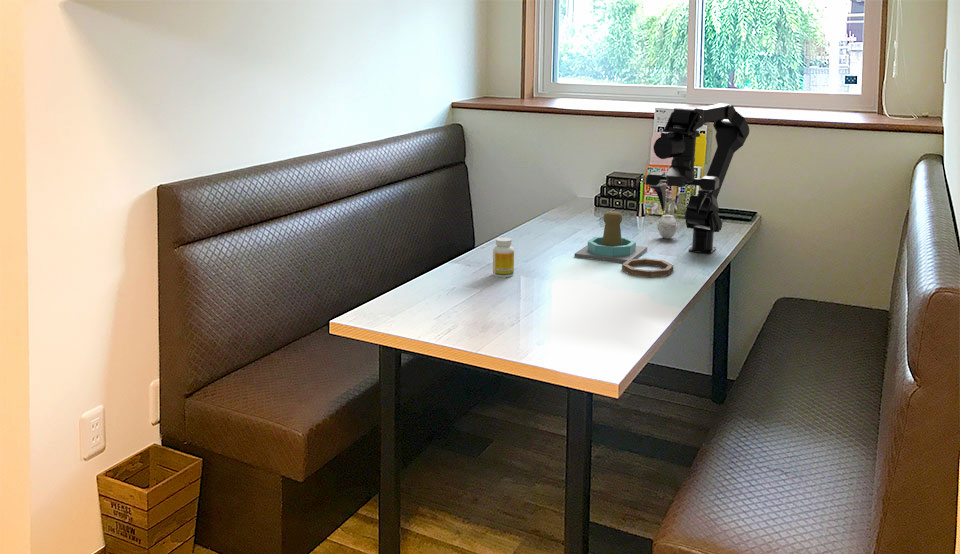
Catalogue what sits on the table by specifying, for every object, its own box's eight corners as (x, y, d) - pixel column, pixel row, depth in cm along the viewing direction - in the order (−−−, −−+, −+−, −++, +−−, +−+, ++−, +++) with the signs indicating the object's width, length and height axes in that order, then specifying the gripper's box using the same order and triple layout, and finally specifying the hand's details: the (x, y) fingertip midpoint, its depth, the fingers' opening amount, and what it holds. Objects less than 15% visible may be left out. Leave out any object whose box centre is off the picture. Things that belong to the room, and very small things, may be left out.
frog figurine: (675, 235, 273) (677, 213, 271) (678, 241, 266) (679, 218, 265) (655, 235, 274) (656, 212, 272) (657, 240, 267) (658, 217, 265)
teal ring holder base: (593, 244, 263) (594, 232, 262) (647, 250, 256) (647, 238, 255) (574, 257, 249) (574, 244, 248) (630, 263, 242) (630, 251, 241)
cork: (621, 253, 249) (623, 214, 246) (600, 252, 250) (601, 213, 247) (623, 248, 254) (624, 209, 251) (601, 247, 256) (602, 209, 253)
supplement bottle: (489, 273, 233) (489, 237, 230) (507, 271, 235) (508, 235, 233) (498, 279, 229) (499, 242, 226) (517, 276, 231) (517, 240, 228)
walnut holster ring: (631, 261, 244) (632, 256, 244) (676, 267, 239) (677, 261, 238) (617, 273, 234) (617, 267, 233) (664, 279, 228) (664, 273, 228)
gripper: (640, 156, 236) (638, 214, 241) (712, 161, 228) (707, 221, 233) (652, 151, 246) (649, 207, 250) (721, 155, 238) (717, 213, 242)
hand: (680, 212), depth 244 cm, fingers open, 9 cm apart
